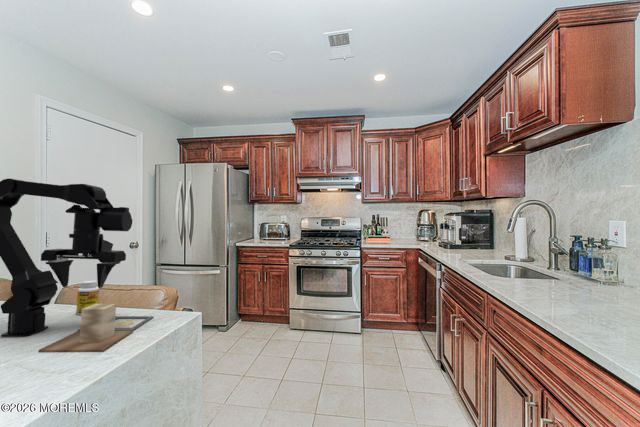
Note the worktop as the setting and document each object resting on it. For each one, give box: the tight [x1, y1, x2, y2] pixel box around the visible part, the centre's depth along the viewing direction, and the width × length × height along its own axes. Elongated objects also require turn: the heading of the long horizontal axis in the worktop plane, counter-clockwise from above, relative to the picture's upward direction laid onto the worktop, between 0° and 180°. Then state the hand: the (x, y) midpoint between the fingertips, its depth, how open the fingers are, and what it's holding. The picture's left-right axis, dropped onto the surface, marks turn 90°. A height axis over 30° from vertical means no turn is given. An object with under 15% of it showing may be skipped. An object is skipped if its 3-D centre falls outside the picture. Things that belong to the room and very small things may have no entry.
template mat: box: [77, 315, 154, 332], centre depth 85 cm, size 14×12×1 cm
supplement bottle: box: [76, 280, 100, 316], centre depth 95 cm, size 6×6×10 cm
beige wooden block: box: [79, 303, 117, 343], centre depth 73 cm, size 5×5×8 cm
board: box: [37, 330, 134, 353], centre depth 72 cm, size 14×12×1 cm
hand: (82, 287), depth 79 cm, fingers open, 9 cm apart
